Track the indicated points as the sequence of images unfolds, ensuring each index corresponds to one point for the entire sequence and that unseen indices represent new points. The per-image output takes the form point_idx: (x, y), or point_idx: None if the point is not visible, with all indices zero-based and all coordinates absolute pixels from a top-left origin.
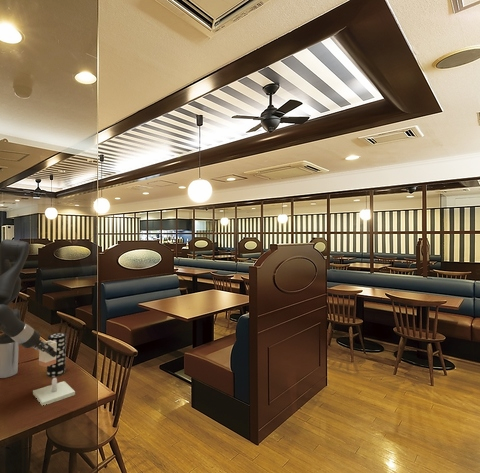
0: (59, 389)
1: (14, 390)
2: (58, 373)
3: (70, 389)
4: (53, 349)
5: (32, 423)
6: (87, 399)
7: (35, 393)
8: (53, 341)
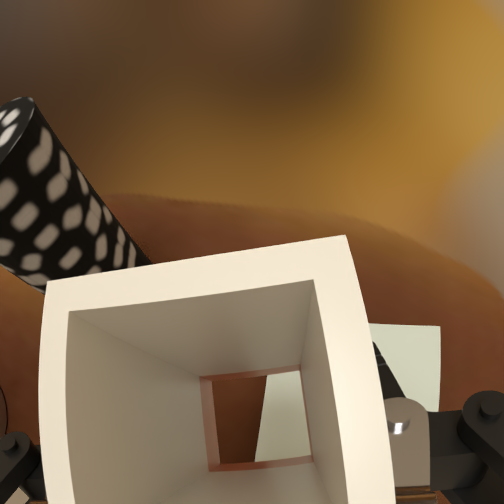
0: None
1: None
2: None
3: (404, 334)
4: (500, 404)
5: None
6: (497, 306)
7: None
8: (197, 273)
